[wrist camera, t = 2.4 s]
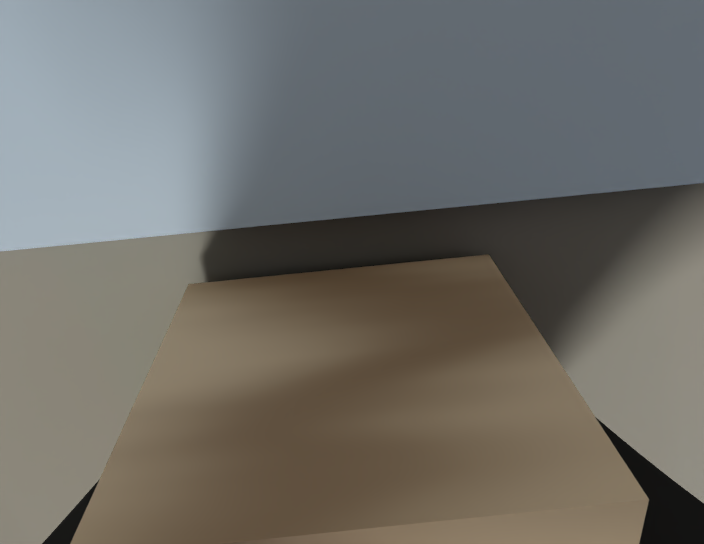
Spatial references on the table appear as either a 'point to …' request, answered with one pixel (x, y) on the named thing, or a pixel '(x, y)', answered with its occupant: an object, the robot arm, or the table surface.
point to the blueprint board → (333, 109)
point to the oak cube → (361, 420)
